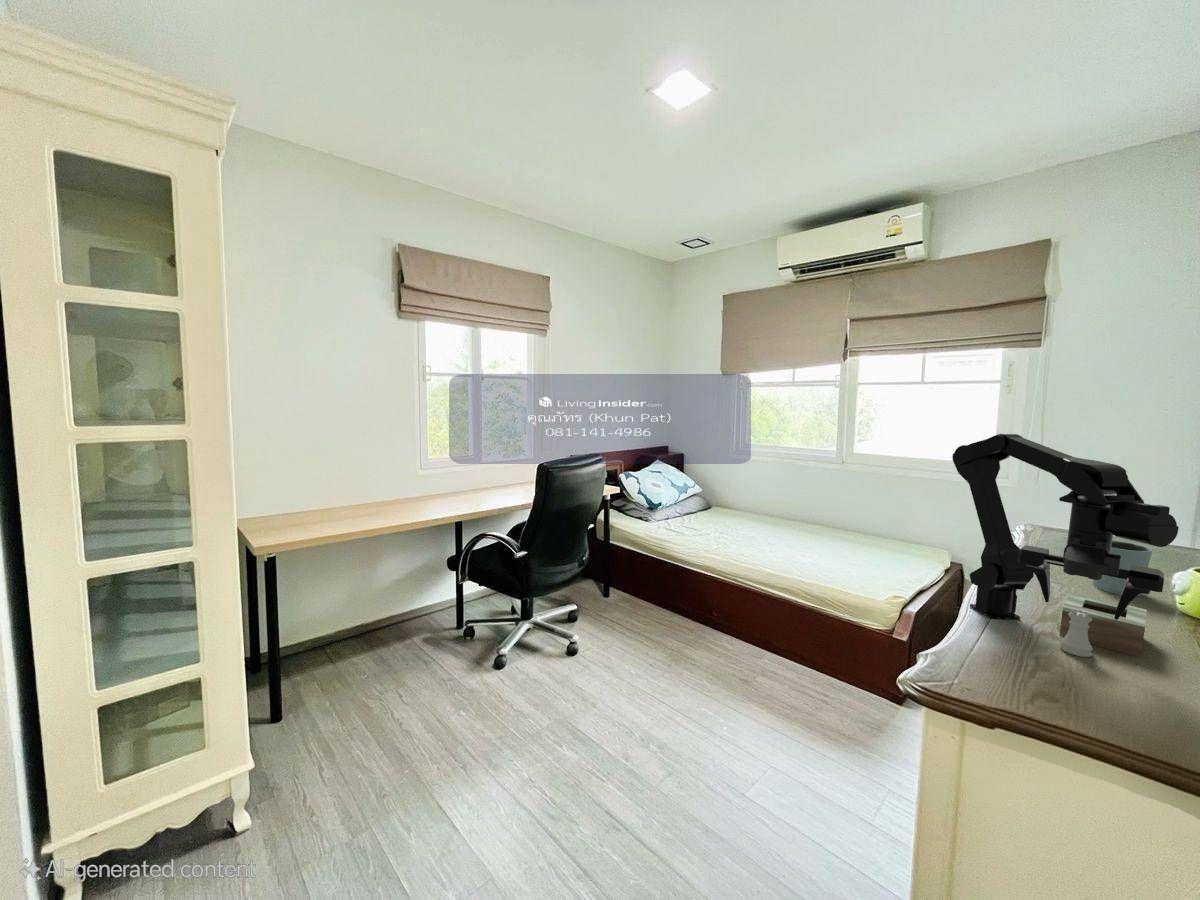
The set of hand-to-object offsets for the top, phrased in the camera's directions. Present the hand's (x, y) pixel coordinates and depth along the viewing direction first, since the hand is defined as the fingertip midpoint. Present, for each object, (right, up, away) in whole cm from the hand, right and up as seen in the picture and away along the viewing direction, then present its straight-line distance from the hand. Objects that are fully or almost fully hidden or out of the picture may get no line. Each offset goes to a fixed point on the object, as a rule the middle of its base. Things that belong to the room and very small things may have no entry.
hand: (1080, 610), depth 88 cm
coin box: (+12, -8, +7) cm, 16 cm away
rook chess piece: (0, -9, +1) cm, 9 cm away
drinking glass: (+42, -6, +32) cm, 53 cm away
